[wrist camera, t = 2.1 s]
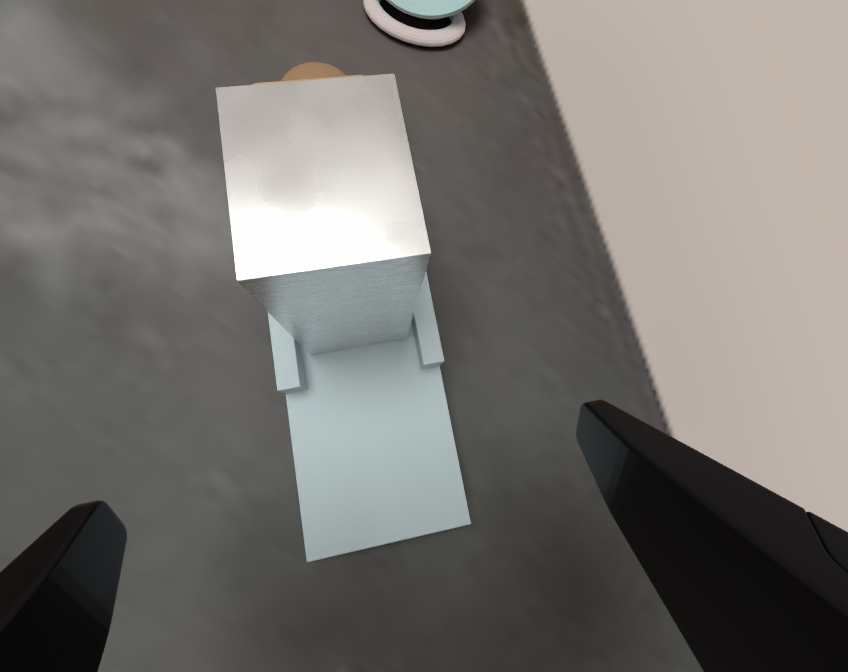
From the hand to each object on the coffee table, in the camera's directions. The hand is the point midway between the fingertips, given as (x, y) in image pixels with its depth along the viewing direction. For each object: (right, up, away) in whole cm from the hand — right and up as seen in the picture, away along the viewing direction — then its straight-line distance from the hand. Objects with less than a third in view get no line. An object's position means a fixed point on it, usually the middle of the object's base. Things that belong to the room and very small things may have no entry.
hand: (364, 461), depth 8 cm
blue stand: (-2, +4, +14) cm, 14 cm away
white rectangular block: (-2, +4, +12) cm, 13 cm away
